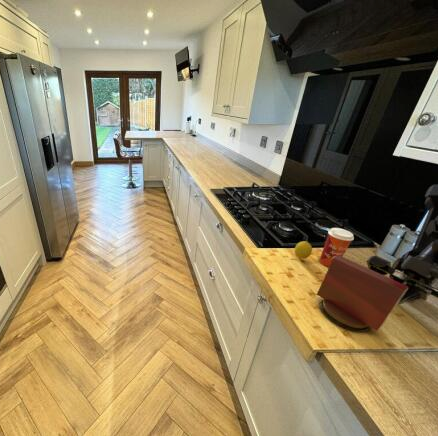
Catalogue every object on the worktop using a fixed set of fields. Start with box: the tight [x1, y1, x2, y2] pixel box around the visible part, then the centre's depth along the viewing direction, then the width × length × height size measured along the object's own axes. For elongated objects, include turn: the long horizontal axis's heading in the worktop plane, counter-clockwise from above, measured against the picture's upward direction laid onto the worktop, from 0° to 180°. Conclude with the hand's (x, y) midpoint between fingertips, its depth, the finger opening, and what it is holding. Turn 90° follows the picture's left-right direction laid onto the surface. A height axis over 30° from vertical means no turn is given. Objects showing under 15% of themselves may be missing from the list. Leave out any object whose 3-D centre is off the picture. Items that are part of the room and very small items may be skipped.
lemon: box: [294, 240, 313, 260], centre depth 92 cm, size 6×6×8 cm
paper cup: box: [319, 227, 355, 268], centre depth 89 cm, size 8×8×14 cm
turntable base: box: [319, 299, 370, 333], centre depth 69 cm, size 12×12×1 cm
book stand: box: [316, 255, 408, 332], centre depth 65 cm, size 11×15×15 cm
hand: (388, 305), depth 61 cm, fingers closed
